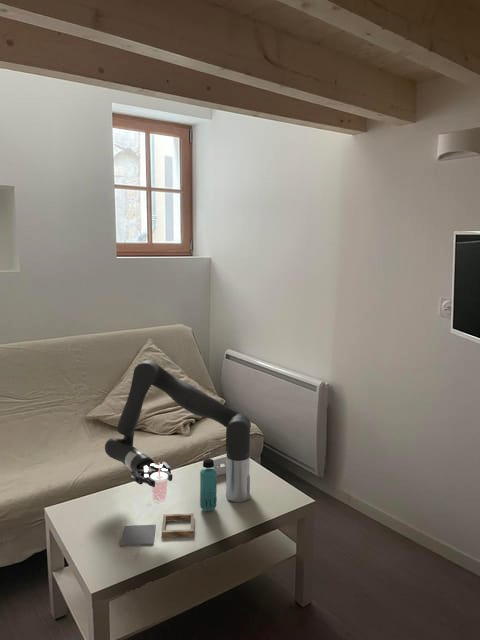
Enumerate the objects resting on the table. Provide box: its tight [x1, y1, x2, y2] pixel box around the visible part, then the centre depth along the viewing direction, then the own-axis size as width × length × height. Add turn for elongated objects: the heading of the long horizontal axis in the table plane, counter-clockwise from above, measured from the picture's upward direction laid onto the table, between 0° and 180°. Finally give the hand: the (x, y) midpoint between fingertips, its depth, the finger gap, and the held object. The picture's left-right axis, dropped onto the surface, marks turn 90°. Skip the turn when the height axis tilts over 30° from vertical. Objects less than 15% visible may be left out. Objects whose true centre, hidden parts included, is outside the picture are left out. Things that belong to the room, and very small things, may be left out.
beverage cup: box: [150, 461, 168, 504], centre depth 169 cm, size 6×6×14 cm
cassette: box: [211, 455, 227, 477], centre depth 215 cm, size 12×2×8 cm, turn 123°
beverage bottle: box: [199, 458, 218, 512], centre depth 184 cm, size 6×7×20 cm
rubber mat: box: [119, 524, 157, 547], centre depth 169 cm, size 11×11×1 cm
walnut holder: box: [161, 513, 195, 539], centre depth 174 cm, size 11×11×2 cm
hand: (162, 481), depth 167 cm, fingers closed on beverage cup, 6 cm apart
